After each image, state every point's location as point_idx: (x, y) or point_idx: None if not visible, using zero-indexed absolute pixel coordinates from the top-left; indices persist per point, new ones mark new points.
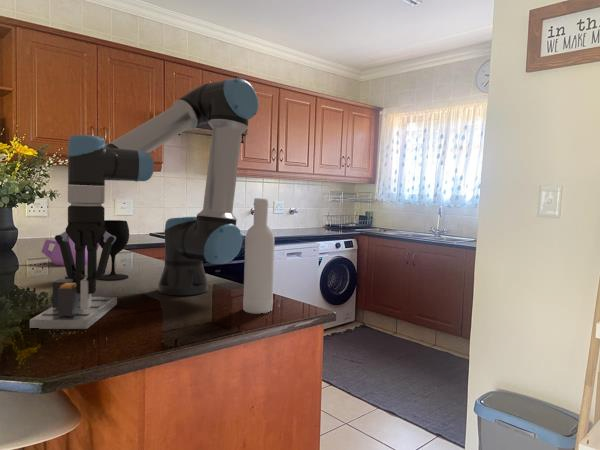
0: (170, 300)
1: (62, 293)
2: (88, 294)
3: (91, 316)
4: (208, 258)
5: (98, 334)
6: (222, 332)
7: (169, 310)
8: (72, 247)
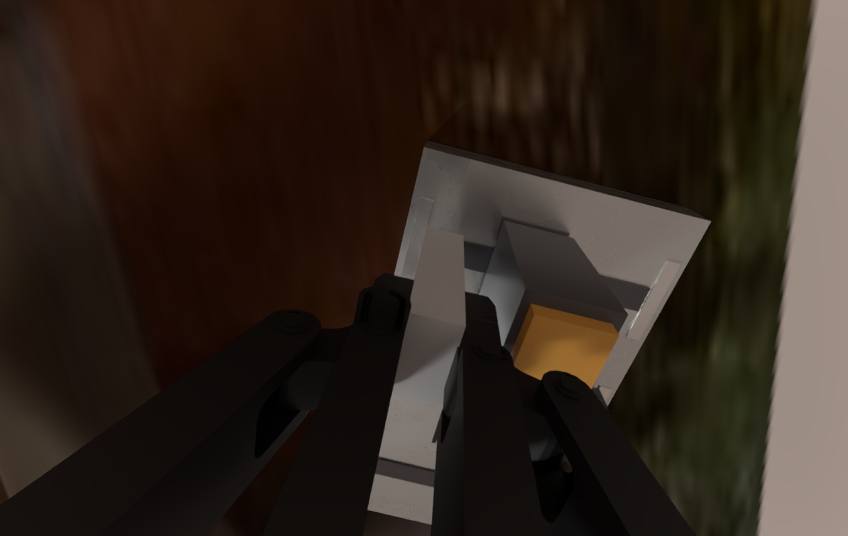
0: None
1: (585, 288)
2: (414, 278)
3: (409, 214)
4: None
5: (360, 21)
6: None
7: (118, 351)
8: None
